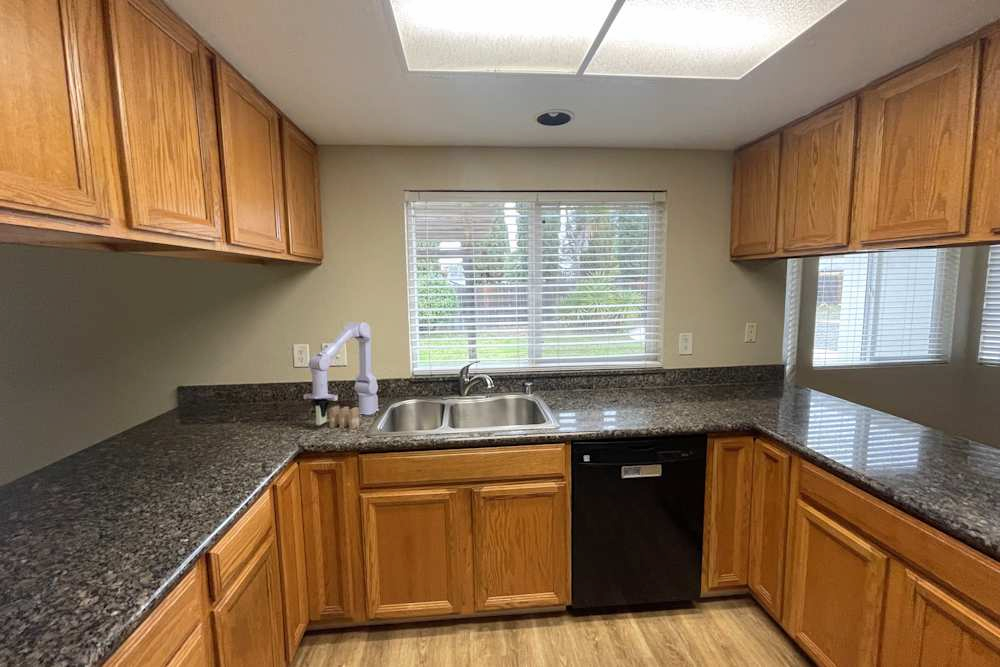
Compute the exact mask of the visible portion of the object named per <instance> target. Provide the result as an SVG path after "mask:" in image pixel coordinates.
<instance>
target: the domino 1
mask: <svg viewBox="0 0 1000 667" xmlns="http://www.w3.org/2000/svg"><path fill="white" fill-rule="evenodd" d="M327 410H328V409H327ZM327 410H326V415H325V416H324V417H322V416H321V409H320V406H319V405H317V406H316V411H315V418H316V419H315V421H316V422H315V423H316V426H321V425H322V424H324V423H326V422H328V416H327V415H328V414H327Z"/></svg>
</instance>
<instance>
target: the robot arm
mask: <svg viewBox="0 0 1000 667" xmlns="http://www.w3.org/2000/svg"><path fill="white" fill-rule="evenodd" d="M371 333H372V332H371V325H369V324H368V323H367V322H356V321H348V322H347V323H346V324H345V325H344V326H343V329H342V331H341V332H340V333H339V334H338V335H337V337H336V338H335V339H334V341H332V342H329V343H326V344H325V345H324V347H323V348H322V349H321V350H320V351H319V352H318V353H317V355H313V356H312V357H310V359H309V360H308V363H307V364H308V368H309V369H310V373H311V376H312V378H311V379H312V380H311V381H312V393H308V392H307V393H304V394H303V399H304V400H307V399H308V400H311V401H310V404H311V405H312V406H313V408H314V410H315V412H316V406H317V405H319V406H320V409H321V416H322V417H324V416H325V415H326V410H328V408H329V404H330V403H331V401H333V402H335V401H338V398H339V397H338V394H331V393H329V390H328V389H329V386H328V369H329V368H330V366H331V362H332V360H333V359H334V358H335V357H336V356H337V355H338V354H339V353H340V348H341V347H342V346H343V345H344V344H345V343H346V342H347V341H348V340H349V339H351V338H354V339H355V340H356V341H357V342H358V348H359V349H358V350H359V351H358V354H359V357H358V358H359V375H358V376H356V377H355V384H354V390H355V392H356V394H357V395H358V407H359V415H361V414H365V416H371V414H372V415H373V414H375V413H376V411H377V412H378V411H380V410H379V409H380V408H379V397H378V395H377V392H378V389H379V385H378V381H377V377H376V376H375V375H373V373H372V372H373V370H372V368H373V367H372V365H373V364H372V363H373V362H372V334H371Z"/></svg>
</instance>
